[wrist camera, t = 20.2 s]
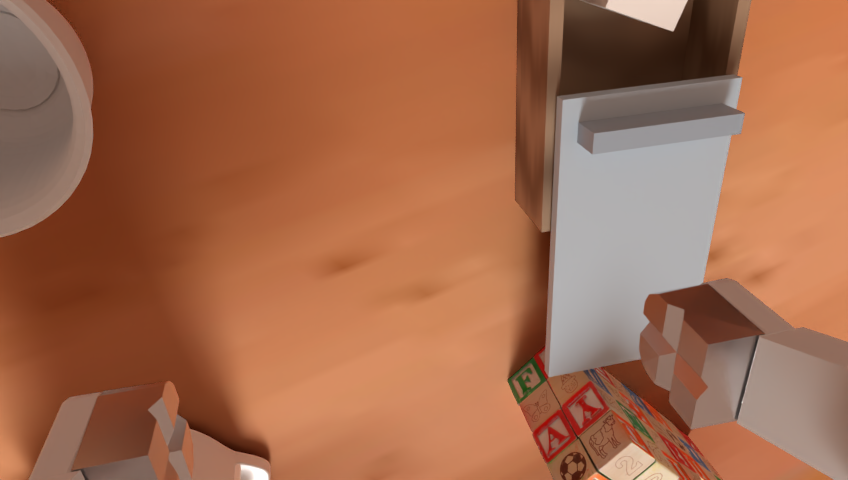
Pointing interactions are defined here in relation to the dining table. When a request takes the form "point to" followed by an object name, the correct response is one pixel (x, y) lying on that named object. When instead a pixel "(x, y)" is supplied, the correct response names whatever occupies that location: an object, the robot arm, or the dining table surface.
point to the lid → (631, 209)
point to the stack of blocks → (602, 428)
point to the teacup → (41, 112)
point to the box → (604, 69)
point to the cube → (646, 10)
